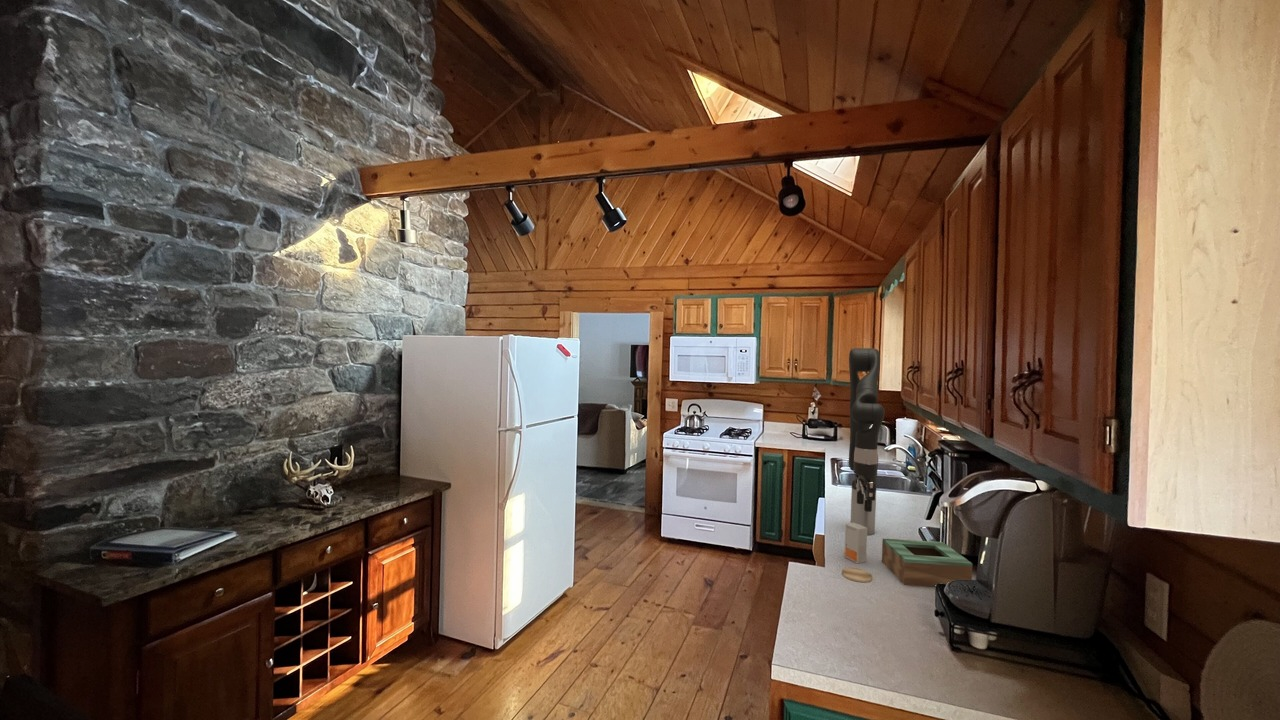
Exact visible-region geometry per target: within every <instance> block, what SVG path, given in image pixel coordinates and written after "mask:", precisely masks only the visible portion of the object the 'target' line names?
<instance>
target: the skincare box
mask: <svg viewBox="0 0 1280 720" xmlns="http://www.w3.org/2000/svg"><path fill="white" fill-rule="evenodd" d="M844 536H845V537H844V551H843V552H844V553H843V554H844V555H843V556H844V558H846V559H847V560H850V561H852V562H854V563H856V564H861V563H866V562H867V546H868V545H867V544H868V543H867V541H868V540H867V539H868V535H867V528H866V527H864V526H862V525H859V524H856V523H850V522H848V523H845V533H844Z"/></svg>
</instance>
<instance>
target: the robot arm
mask: <svg viewBox="0 0 1280 720" xmlns="http://www.w3.org/2000/svg"><path fill="white" fill-rule="evenodd" d="M848 355H849V356H848V365H849V366H848V368H849V384H850V385H849V387H850V391H849V392H850V394H849V430H850V431H849V432H850V433H849V434H850V435H849V449H848V467H849V469H850V470H851V471H853V473H854V474H855V477H854V478H855V479H853V480H852V481H851V499H850V521H849V523H856V524H859V525H862V526H864V527H866V528H867V536H868V535H869V536H871V535H875V532H876V513H877V512H876V511H877V509H876V507H877V505H876V504H877V478H878V470H879V469H878V468H879V453H878V443H879V442H878V441H879V434H880V429H881V426H882V423H883V421H884V419H885V414H886V412H885V407H883V405H882V404H880V403H878V399H879V396H878V383H879V377H880V369H881V353H880V351H879V350H878V349H877V348H875V347H874V348H873V347H870V348H868V347H865V348H864V347H861V348H857V347H855V348H851V349H850V351H849V353H848ZM859 372H861V373H863V372H864V373H866V374H864V375H863V376H862V378H860V376H859Z"/></svg>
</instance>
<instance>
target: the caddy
mask: <svg viewBox="0 0 1280 720" xmlns="http://www.w3.org/2000/svg"><path fill="white" fill-rule="evenodd" d="M881 545H882V546H881V547H882V548H881V563H882V564H884V565H885V567H887V568H888V569H889V570H890V571H891V573H892V574H893V575H895V576H896V578H897V579H898V580H899V581H900V582H901V583H902V584H903V585H907V586H917V587H920V586H921V587H935V585H936V584H937V583H942V584H947V583H948V582H951V581H954V580H972V581H973V563H972V562H971V561H969V559H967V558H966V557H964V556H963V555H961V554H960V553H958V552H957V551H956V550H955V549H953V548H952V547H951V546H949V545H948V544H946V543H945V542H943V541H931V540H915V539H914V540H913V539H897V538H882V544H881ZM935 588H936V587H935Z"/></svg>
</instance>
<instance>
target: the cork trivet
mask: <svg viewBox="0 0 1280 720" xmlns="http://www.w3.org/2000/svg"><path fill="white" fill-rule="evenodd" d="M841 575H842V577H844V578H845V579H848V580H850V581H852V582H855V583H856V582H857V583H870V582H872V580H873V574H872V573H870V572H869V571H867V570H864V569H861V568H857V567H845V568H842V570H841Z"/></svg>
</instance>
